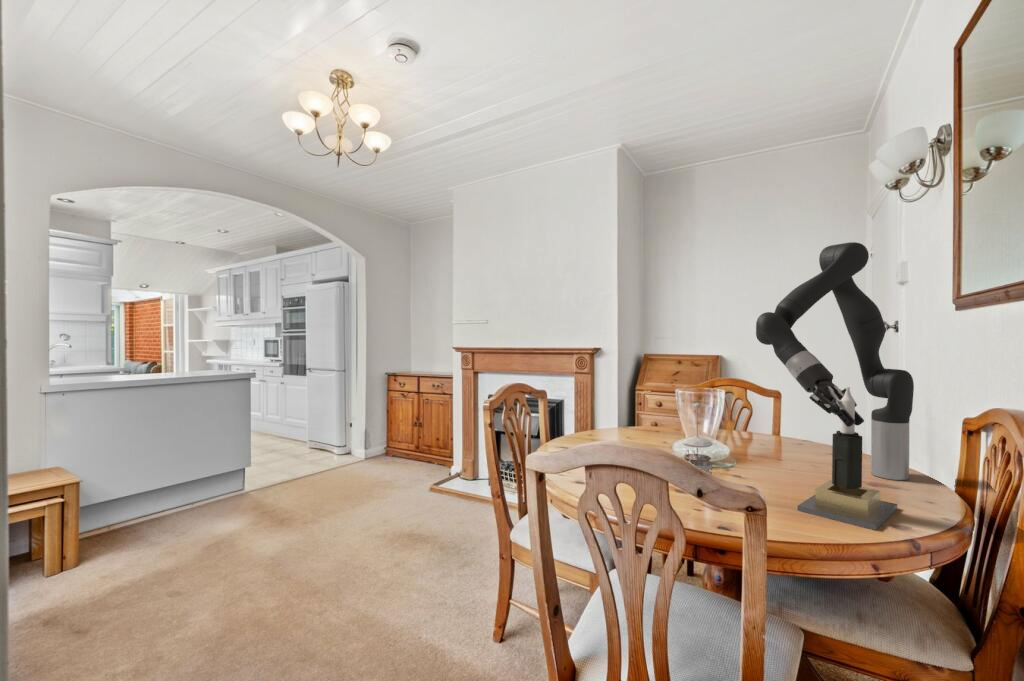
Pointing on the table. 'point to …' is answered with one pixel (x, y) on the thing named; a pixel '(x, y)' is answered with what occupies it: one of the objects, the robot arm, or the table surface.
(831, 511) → the candle plate
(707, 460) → the french press
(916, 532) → the table surface
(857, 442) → the candle
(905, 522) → the table surface
